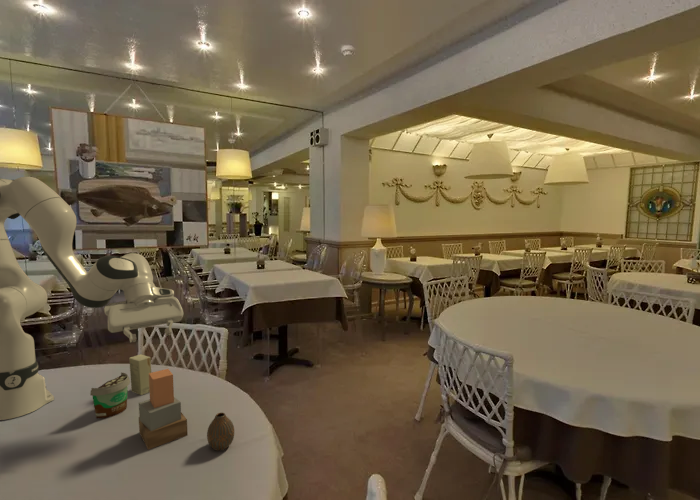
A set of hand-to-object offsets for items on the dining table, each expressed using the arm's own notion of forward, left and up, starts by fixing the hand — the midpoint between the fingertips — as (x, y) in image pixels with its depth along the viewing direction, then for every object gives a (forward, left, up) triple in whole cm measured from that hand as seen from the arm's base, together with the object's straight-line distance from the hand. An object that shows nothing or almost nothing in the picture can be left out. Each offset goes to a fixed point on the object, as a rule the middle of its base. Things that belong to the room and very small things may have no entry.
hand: (151, 337), depth 111 cm
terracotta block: (+10, 0, -16) cm, 18 cm away
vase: (+25, +10, -26) cm, 37 cm away
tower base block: (+9, 0, -26) cm, 27 cm away
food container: (-13, -8, -26) cm, 30 cm away
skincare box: (-23, +1, -26) cm, 34 cm away
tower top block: (+10, -1, -21) cm, 23 cm away
